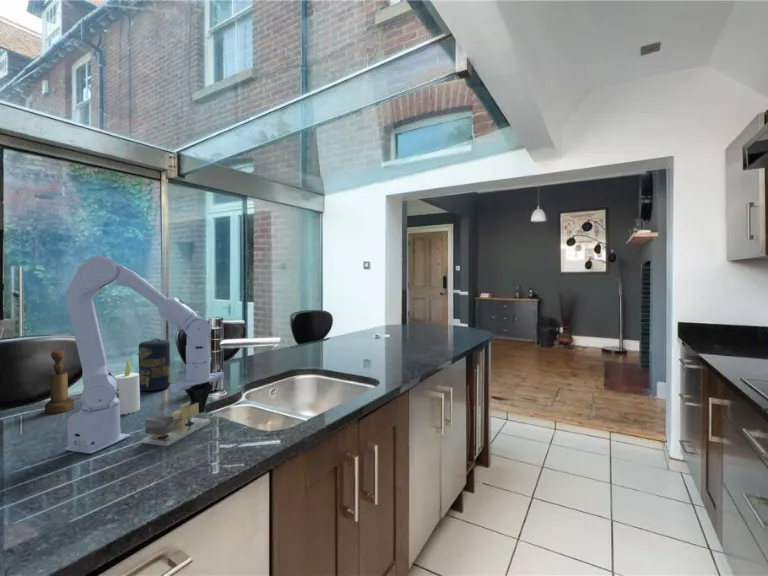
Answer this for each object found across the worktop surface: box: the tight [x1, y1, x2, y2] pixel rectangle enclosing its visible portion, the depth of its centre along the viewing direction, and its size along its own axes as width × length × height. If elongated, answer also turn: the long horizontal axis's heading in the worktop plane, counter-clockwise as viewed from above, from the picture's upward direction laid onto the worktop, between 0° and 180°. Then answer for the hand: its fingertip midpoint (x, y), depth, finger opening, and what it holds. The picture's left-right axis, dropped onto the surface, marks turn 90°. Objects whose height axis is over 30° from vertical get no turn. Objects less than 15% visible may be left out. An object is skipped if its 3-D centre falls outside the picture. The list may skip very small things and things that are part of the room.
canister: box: [138, 337, 172, 392], centre depth 130 cm, size 10×10×18 cm
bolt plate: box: [142, 417, 211, 447], centre depth 93 cm, size 14×7×1 cm, turn 165°
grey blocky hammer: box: [144, 414, 188, 437], centre depth 92 cm, size 12×5×4 cm, turn 165°
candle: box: [114, 359, 141, 416], centre depth 108 cm, size 6×6×15 cm
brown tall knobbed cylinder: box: [44, 349, 75, 414], centre depth 110 cm, size 7×6×18 cm
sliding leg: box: [171, 400, 200, 423], centre depth 96 cm, size 3×6×5 cm, turn 75°
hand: (199, 412), depth 99 cm, fingers closed
